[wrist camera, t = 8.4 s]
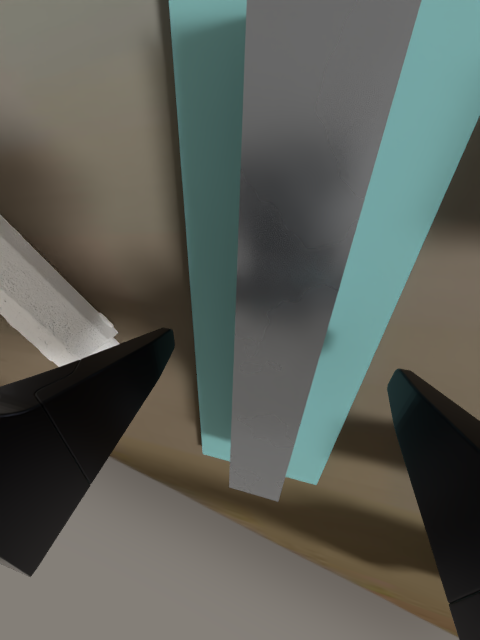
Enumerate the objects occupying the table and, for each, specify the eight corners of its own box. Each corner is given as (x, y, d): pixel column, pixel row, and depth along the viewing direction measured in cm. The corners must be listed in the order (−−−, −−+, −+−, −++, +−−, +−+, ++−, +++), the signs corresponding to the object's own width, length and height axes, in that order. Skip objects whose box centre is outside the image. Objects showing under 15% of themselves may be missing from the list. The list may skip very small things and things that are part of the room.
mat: (316, 476, 17) (316, 485, 17) (205, 446, 19) (202, 453, 18) (622, -249, 4) (667, -311, 4) (168, -145, 6) (155, -177, 5)
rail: (281, 451, 16) (278, 501, 13) (240, 441, 16) (229, 487, 14) (391, 0, 6) (467, -157, 3) (271, 11, 6) (251, -115, 4)
